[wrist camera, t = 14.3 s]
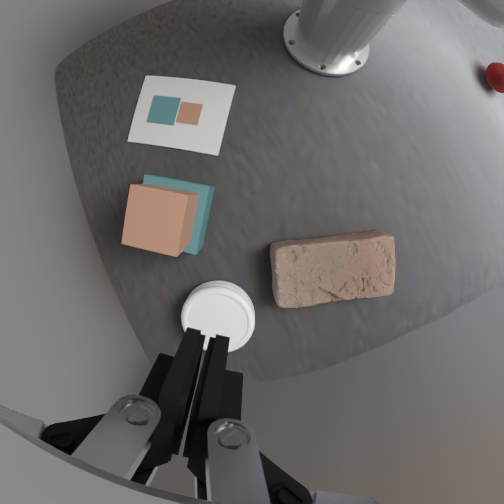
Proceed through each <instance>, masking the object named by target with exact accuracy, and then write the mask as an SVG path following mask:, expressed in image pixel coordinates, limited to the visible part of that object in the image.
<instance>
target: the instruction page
mask: <svg viewBox="0 0 504 504" xmlns="http://www.w3.org/2000/svg"><path fill="white" fill-rule="evenodd" d="M235 88H236V86H235V85H230V84H223V83H217V82H210V81H203V80H194V79H185V78H175V77H163V76H146V77H145V80H144V83H143V86H142V89H141V93H140V96H139V99H138V103H137V106H136V110H135V113H134V117H133V121H132V125H131V129H130V133H129V137H128V141H127V142H134V143H142V144H150V145H157V146H163V147H170V148H176V149H182V150H188V151H194V152H200V153H205V154H211V155H216V156H218V155H219V151H220V146H221V142H222V138H223V134H224V130H225V126H226V122H227V118H228V114H229V110H230V107H231V103H232V99H233V95H234V92H235Z"/></svg>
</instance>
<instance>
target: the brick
mask: <svg viewBox="0 0 504 504" xmlns="http://www.w3.org/2000/svg"><path fill="white" fill-rule="evenodd" d="M270 258H271V267H272V290H273V296H274V299H275V301H276V303H277V305H278V306H279V307H282V308H295V307H307V306H313V305H317V304H320V303H327V302H330V301H333V302H334V301H339V300H350V299H354V298H358V299H361V298H372V297H379V296H384V295H390V294H392V292H393V290H394V281H395V246H394V236H393V235H390V234H388V233H385V232H383V231H376V230H374V231H365V232H363V233H356V232H353V233H349V234H339V235H333V236H325V237H319V238H309V239H302V240H300V239H298V240H286V241H279V242H273V243H271V245H270Z"/></svg>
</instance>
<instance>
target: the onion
mask: <svg viewBox="0 0 504 504" xmlns="http://www.w3.org/2000/svg"><path fill="white" fill-rule="evenodd" d="M486 80H487V83H488V84H489V85H490V86H491V87H492V88H493V89H494V90H496V91H497V92H500V93H504V64H502V63H491V64H490V65H489V66H488V67H487V70H486Z"/></svg>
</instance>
